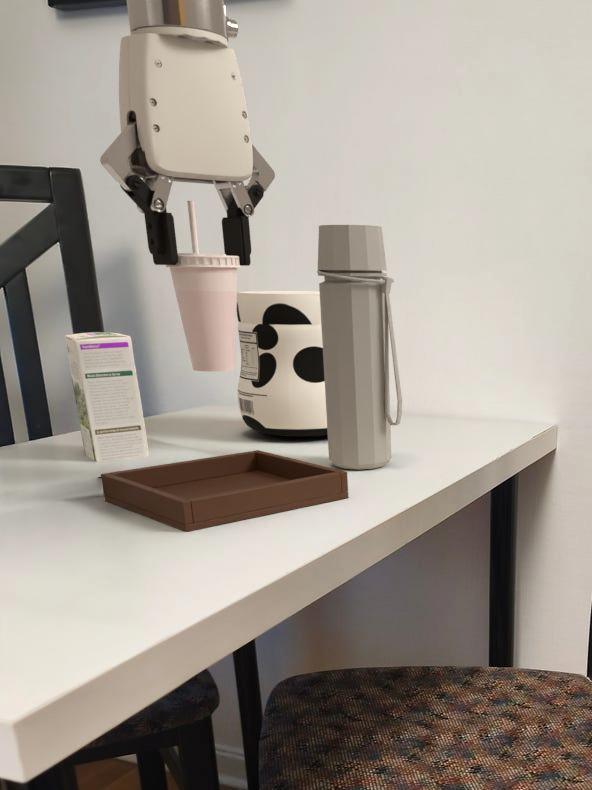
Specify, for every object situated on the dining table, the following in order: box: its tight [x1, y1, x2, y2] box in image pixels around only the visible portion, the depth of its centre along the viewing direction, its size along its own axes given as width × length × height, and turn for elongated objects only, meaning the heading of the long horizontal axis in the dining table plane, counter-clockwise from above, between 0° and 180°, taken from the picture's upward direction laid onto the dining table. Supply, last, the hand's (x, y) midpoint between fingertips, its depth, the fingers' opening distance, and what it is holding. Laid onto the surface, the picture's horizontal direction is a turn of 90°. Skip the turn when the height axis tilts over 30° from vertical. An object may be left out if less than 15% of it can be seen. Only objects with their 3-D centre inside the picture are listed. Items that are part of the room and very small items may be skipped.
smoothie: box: [165, 200, 242, 372], centre depth 80 cm, size 6×6×14 cm
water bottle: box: [316, 224, 403, 471], centre depth 97 cm, size 9×8×25 cm
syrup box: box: [64, 331, 150, 479], centre depth 95 cm, size 6×6×14 cm
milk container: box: [236, 290, 328, 438], centre depth 119 cm, size 17×17×18 cm
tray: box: [100, 449, 349, 532], centre depth 87 cm, size 18×16×3 cm
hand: (203, 263), depth 79 cm, fingers closed on smoothie, 6 cm apart
